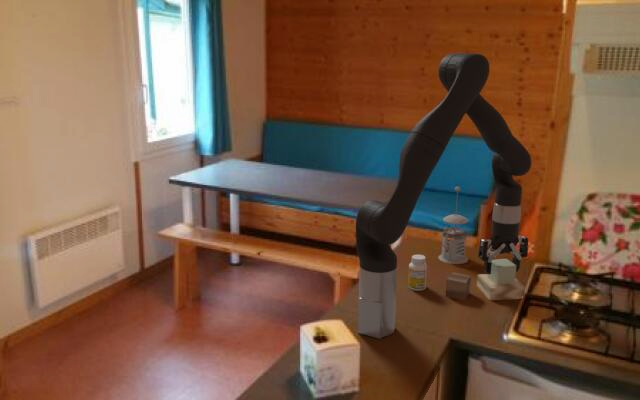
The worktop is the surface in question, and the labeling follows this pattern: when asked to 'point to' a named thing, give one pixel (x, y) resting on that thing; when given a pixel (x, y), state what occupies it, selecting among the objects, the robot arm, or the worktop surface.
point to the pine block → (499, 289)
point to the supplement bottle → (417, 273)
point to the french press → (457, 244)
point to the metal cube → (458, 286)
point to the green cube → (502, 272)
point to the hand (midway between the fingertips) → (501, 272)
